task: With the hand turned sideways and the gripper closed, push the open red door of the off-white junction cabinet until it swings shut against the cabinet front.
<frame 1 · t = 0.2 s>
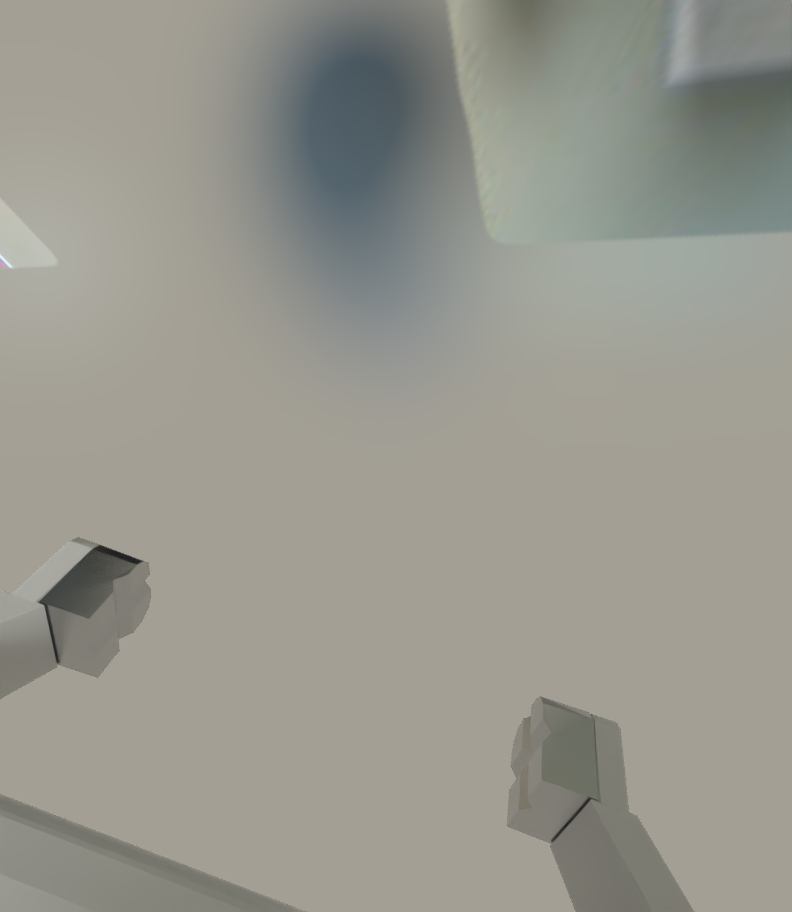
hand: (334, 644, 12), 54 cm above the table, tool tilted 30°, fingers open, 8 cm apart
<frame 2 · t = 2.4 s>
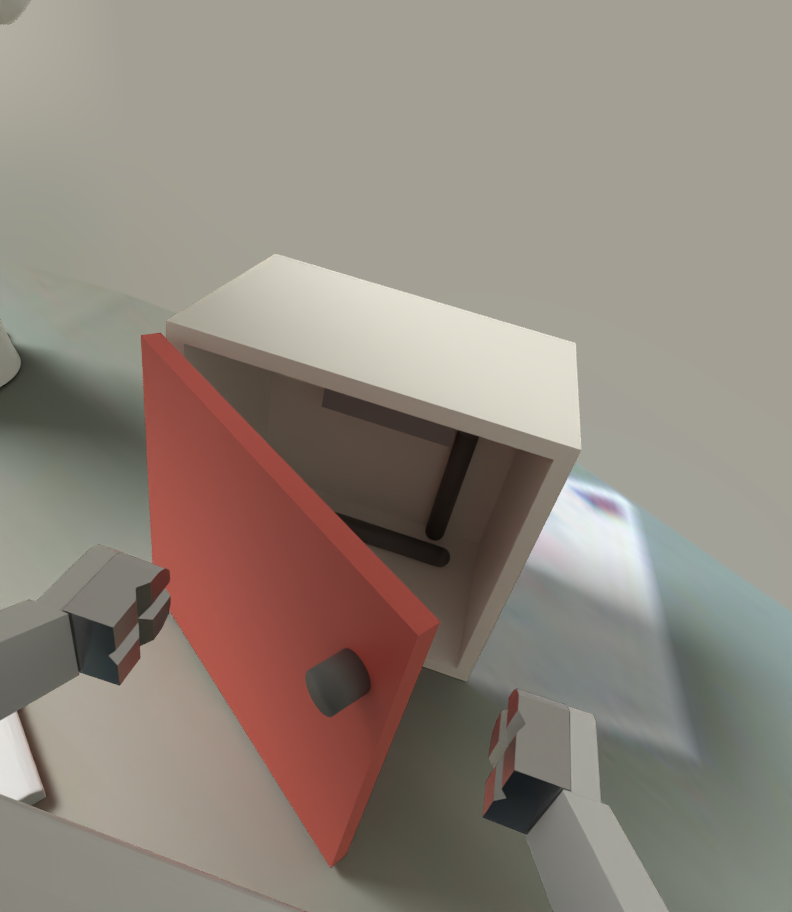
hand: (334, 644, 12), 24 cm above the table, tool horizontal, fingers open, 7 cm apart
door: (230, 603, 29), point 10 cm above the table, hinge at 35.0°
cabinet: (346, 561, 46), on the table
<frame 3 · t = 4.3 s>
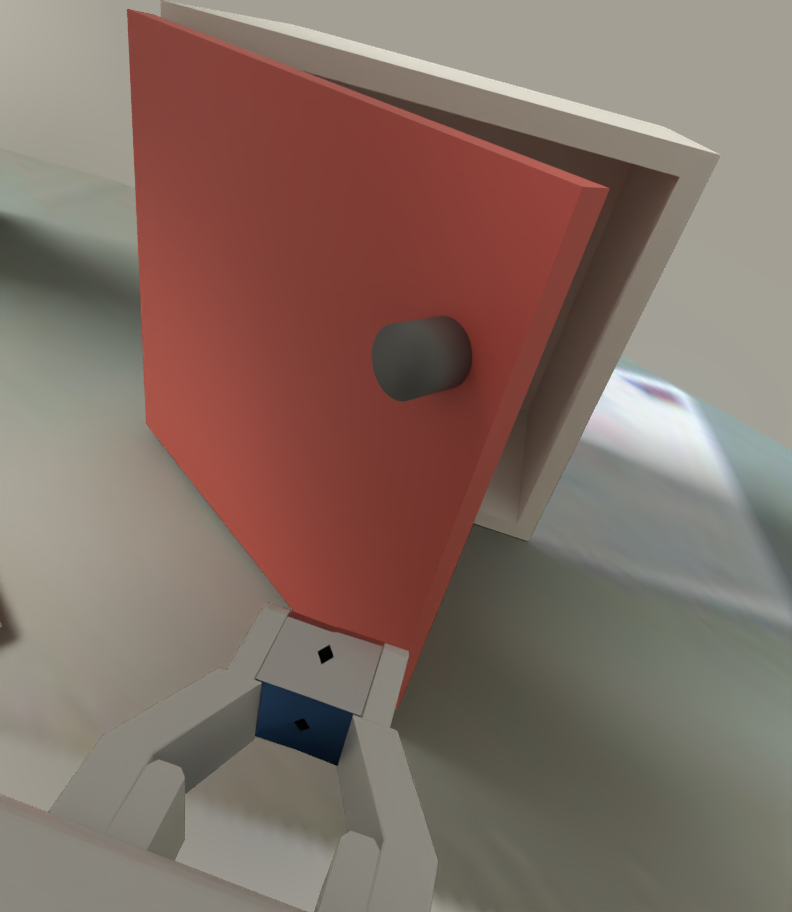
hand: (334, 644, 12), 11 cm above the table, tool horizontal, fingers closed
door: (246, 366, 21), point 10 cm above the table, hinge at 35.0°
cabinet: (376, 421, 39), on the table
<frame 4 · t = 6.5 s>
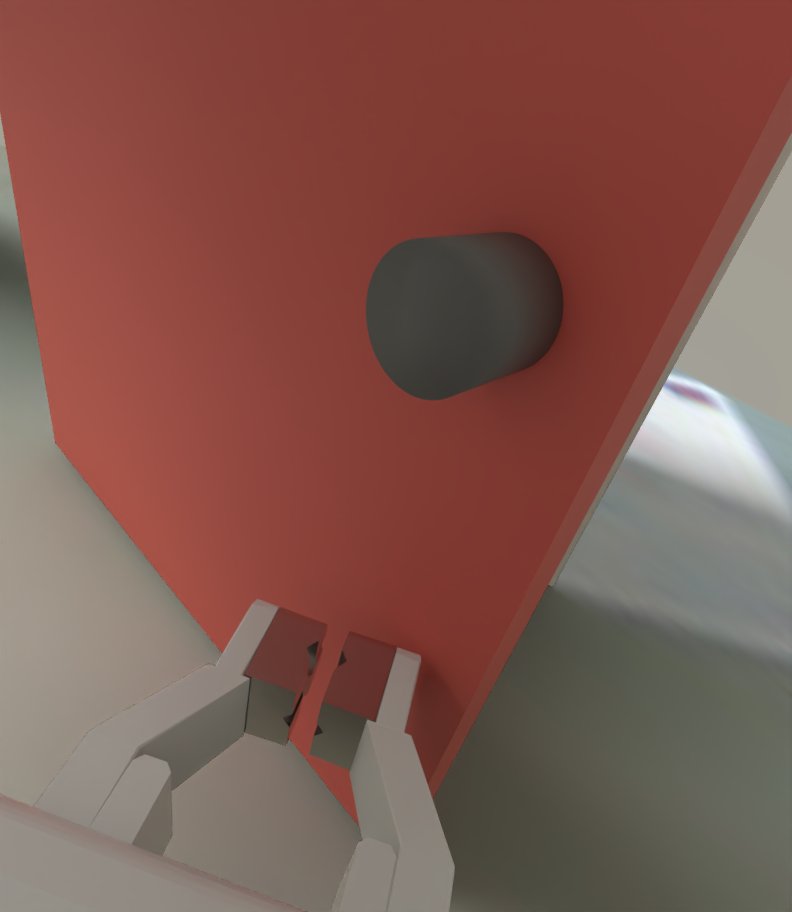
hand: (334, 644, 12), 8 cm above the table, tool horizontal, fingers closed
door: (164, 357, 14), point 10 cm above the table, hinge at 31.7°, touching gripper
cabinet: (357, 432, 31), on the table
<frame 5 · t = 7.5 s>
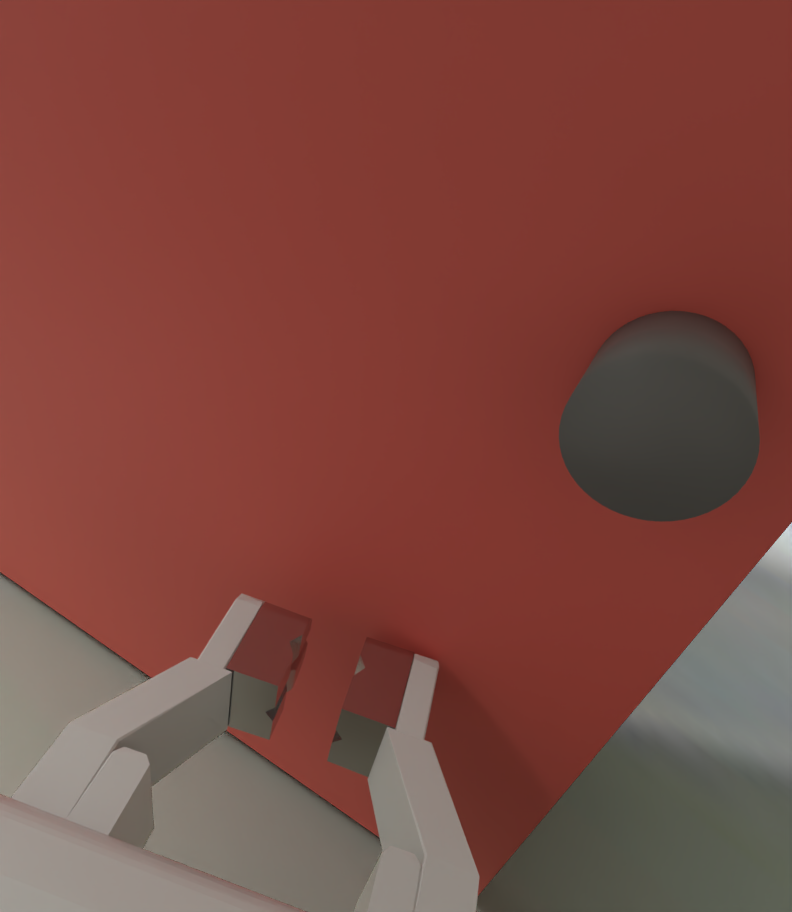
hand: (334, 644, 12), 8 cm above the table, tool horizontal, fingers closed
door: (138, 438, 12), point 10 cm above the table, hinge at 15.2°, touching gripper
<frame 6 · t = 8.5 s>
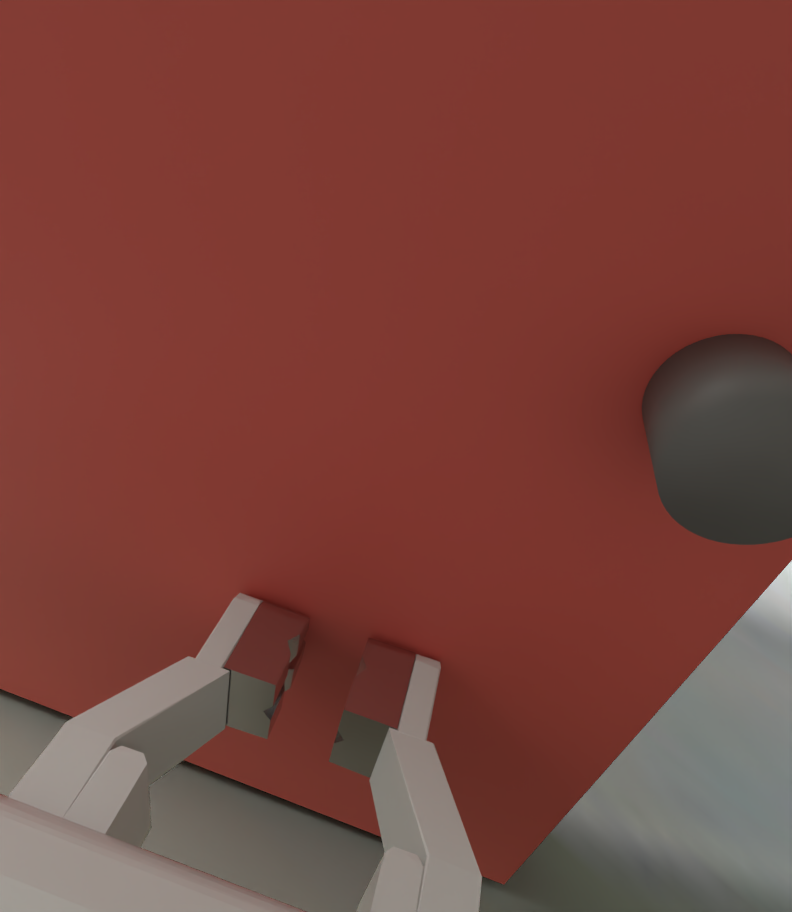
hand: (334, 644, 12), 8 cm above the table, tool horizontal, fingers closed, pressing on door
door: (112, 500, 10), point 10 cm above the table, hinge at 1.9°, touching gripper
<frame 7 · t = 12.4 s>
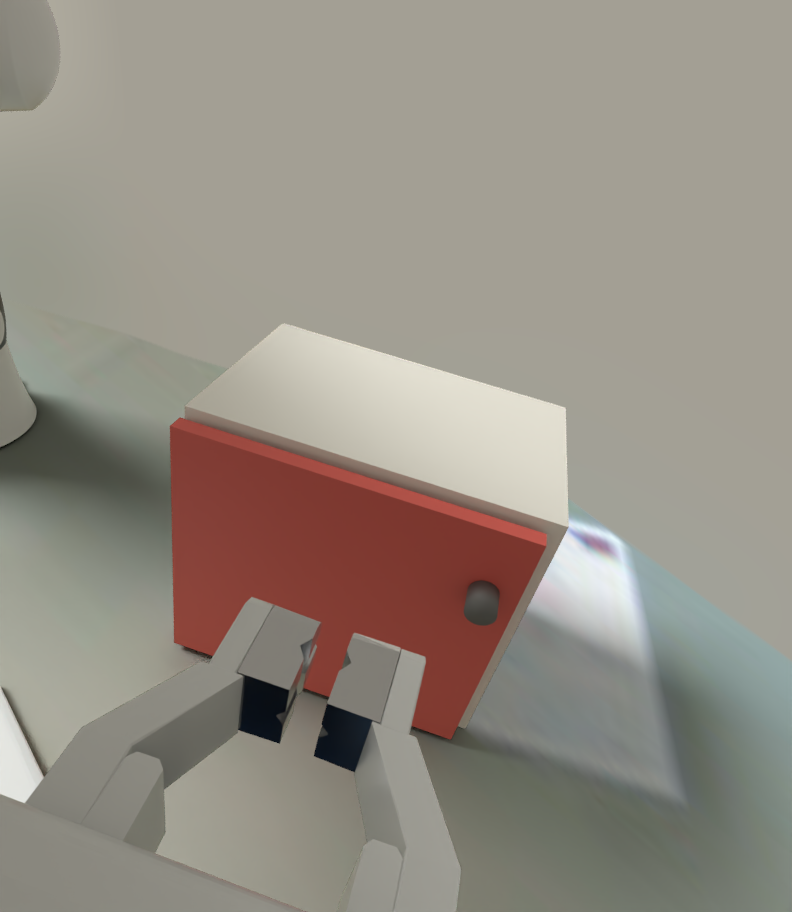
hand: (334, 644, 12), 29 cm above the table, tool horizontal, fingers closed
door: (326, 606, 35), point 10 cm above the table, hinge at 0.0°
cabinet: (350, 609, 48), on the table
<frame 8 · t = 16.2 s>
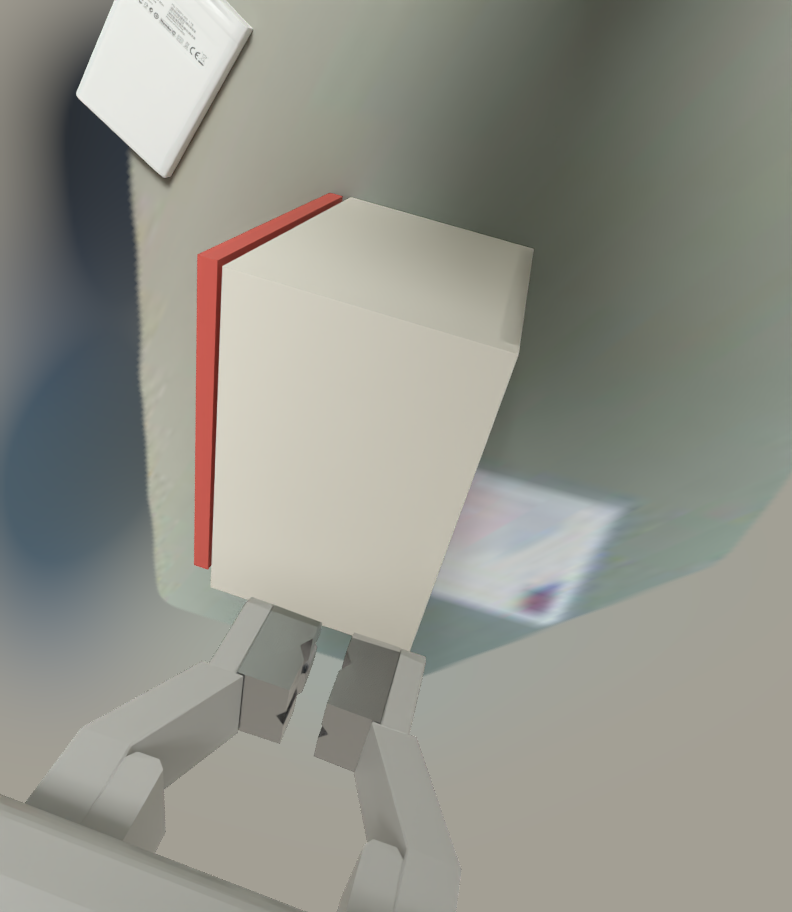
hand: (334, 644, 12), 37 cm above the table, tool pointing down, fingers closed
door: (260, 369, 41), point 10 cm above the table, hinge at 0.0°
cabinet: (408, 356, 48), on the table
external hard drive: (169, 63, 41), on the table
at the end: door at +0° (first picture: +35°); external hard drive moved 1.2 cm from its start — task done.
